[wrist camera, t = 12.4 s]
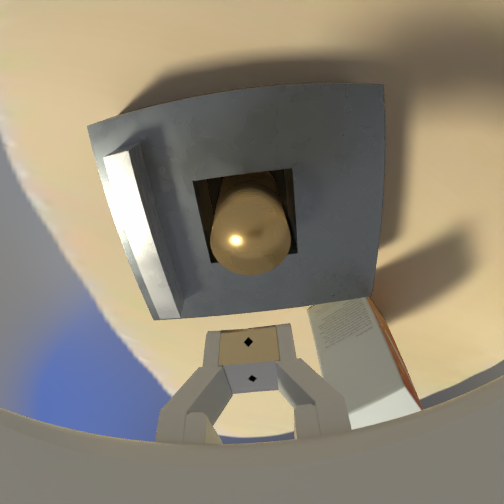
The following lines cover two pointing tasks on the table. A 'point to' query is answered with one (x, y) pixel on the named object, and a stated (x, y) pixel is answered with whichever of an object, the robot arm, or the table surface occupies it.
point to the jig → (241, 162)
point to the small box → (362, 361)
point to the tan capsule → (249, 224)
